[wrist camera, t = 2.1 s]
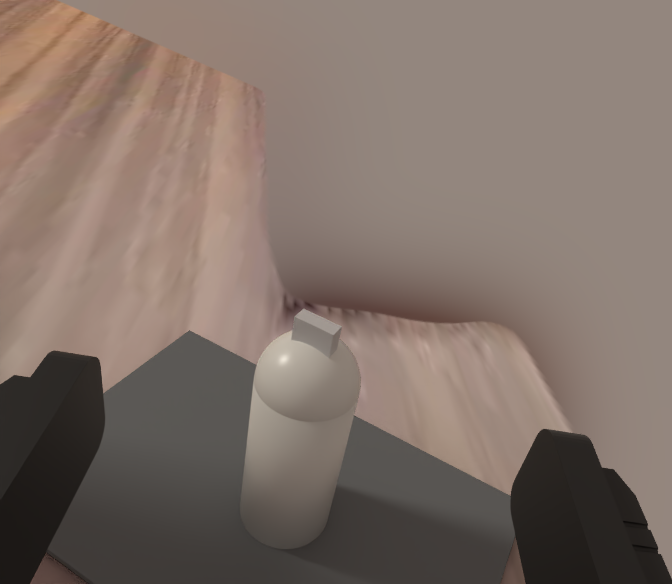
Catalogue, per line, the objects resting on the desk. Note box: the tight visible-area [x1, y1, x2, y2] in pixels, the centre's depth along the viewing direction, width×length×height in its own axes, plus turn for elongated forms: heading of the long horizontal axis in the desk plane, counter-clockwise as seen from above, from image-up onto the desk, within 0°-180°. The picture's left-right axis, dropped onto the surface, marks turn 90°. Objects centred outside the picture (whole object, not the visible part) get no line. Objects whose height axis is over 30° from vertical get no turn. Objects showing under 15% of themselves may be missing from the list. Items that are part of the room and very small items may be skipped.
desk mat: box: [46, 330, 515, 584], centre depth 31 cm, size 24×16×1 cm, turn 61°
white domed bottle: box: [240, 309, 361, 549], centre depth 27 cm, size 5×5×12 cm
